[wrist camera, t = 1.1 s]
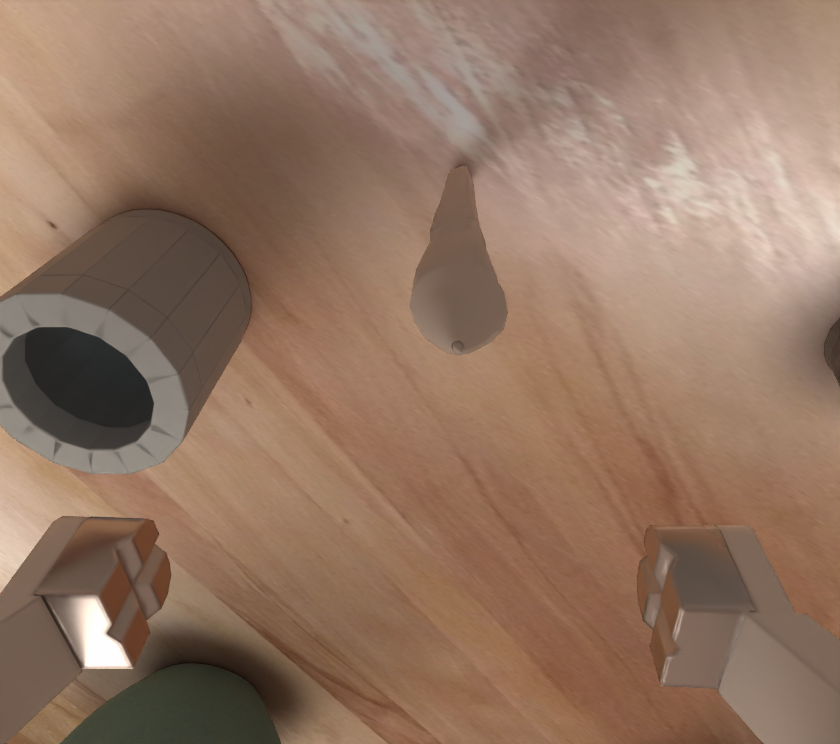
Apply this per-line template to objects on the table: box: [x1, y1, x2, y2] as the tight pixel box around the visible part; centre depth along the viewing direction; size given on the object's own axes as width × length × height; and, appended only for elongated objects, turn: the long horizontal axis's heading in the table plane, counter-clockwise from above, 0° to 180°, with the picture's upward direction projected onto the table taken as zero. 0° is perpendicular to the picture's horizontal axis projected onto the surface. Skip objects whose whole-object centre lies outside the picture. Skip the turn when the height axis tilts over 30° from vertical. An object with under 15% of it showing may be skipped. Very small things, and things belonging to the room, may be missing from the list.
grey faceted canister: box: [0, 209, 251, 474], centre depth 27 cm, size 8×8×8 cm
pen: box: [410, 165, 508, 355], centre depth 21 cm, size 2×3×14 cm
